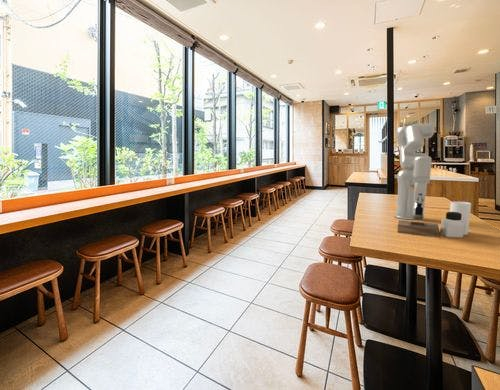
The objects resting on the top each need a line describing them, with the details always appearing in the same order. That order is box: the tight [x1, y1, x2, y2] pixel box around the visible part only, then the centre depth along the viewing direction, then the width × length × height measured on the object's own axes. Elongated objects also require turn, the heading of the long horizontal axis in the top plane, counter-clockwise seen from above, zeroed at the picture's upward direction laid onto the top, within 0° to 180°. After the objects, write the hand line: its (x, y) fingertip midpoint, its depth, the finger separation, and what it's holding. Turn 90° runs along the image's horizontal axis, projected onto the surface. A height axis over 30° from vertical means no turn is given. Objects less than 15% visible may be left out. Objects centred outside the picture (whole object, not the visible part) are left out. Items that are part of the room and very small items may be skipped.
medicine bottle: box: [439, 211, 465, 239], centre depth 128 cm, size 7×7×12 cm
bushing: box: [412, 201, 425, 221], centre depth 135 cm, size 5×5×9 cm
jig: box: [397, 219, 440, 238], centre depth 137 cm, size 12×18×4 cm, turn 57°
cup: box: [449, 200, 472, 236], centre depth 133 cm, size 8×8×16 cm
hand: (418, 213), depth 135 cm, fingers closed on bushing, 4 cm apart
